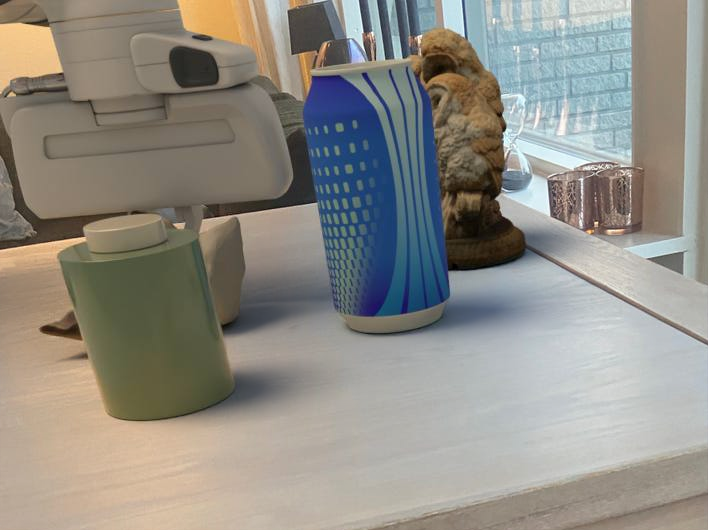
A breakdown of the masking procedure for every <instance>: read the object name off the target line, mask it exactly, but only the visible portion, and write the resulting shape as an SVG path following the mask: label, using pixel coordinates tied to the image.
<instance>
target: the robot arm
mask: <svg viewBox="0 0 708 530" xmlns="http://www.w3.org/2000/svg"><path fill="white" fill-rule="evenodd" d="M183 21H184V20H183V16H182V12H181V10H180V5H179V2H178V0H0V25H11V24H24V25H29V26H36V27H41V28H42V27H43V28H50V32H51V36H52V39H53V43H54V46H55V51H56V53H57V57H58V60H59V63H60V67H61V70H62V71H61V72H56V73H54V72H53V73H46V74H43V75H38V76H32V77H29V76H18V77H14V78H12V79H10V80H9V85H7V86H5V88H3V89H2V91H1V93H0V116H1V120H2V123H3V125H4V129H5V132H6V134H7V136H8V137H9V138H10V141H11V149H12V154H13V159H14V160H13V161H14V165H15V169H16V174H17V178H18V182H19V187H20V190H21V194H22V197H23V200H24V203H25V205H26V207H27V208H28V209H29V210H30V211H31V212H32V213H33V214H34V215H35V216H37V217H38V218H39V219H41V220H46V219H47V220H48V219H59V218H71V217H81V216H82V217H83V216H94V215H104V214H117V213H127V215H130V214H131V212H132V211H141V212H146V213H155V214H157V210H163V209H164V210H165V209H173V210H174V215H175V218H176V222H177V223H178V224H184V226H183V229H187V230H193V231H196V232H198V233H200V231H201V227H202V223H203V220H204V212H203V208H202V206H209V205H218V204H219V205H220V204H231V203H243V202H255V201H265V200H276V199H279V198H280V197H282V196H283V195H285V194H286V193H287V192H288V190H289V189H290V186H291V184H292V182H293V179H294V172H293V164H292V160H291V156H290V151H289V148H288V143H287V139H286V136H285V132H284V129H283V128H284V127H283V126H282V122H281V120H280V116H279V113H278V110H277V108H276V105H275V103H274V101H273V100H272V98H271V96H270V94H268V92H267V91H266V90H265V89H264V88H263V87H261V86H260V85H259V84H256V83H254V82H252V81H253V80H255V79H256V78H258V76H259V71H260V68H259V61H258V57H257V54H256V51H255V50H254V49H253V48H252V47H250V46H248V45H245V44H242V43H238V42H234V41H230V40H225V39H222V38H218V37H213V36H211V35H207V34H203V33H198V32H195V31H191V30H188V29H186V27H185V26H184V22H183ZM10 93H13V94H14V95H12V96H9V94H10Z"/></svg>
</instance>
